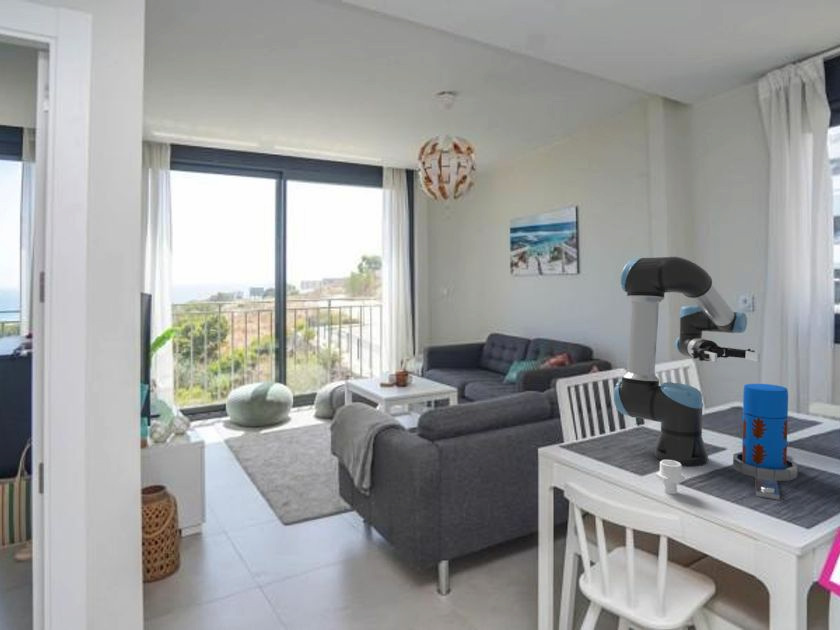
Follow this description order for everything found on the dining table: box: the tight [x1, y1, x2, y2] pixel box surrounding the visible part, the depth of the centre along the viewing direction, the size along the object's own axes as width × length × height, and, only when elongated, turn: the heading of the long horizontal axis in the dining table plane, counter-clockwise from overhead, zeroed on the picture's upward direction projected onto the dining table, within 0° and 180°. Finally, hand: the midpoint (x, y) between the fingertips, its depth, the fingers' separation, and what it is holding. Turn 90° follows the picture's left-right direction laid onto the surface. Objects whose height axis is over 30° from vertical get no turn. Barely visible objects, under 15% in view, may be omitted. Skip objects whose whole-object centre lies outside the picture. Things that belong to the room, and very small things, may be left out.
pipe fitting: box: [655, 460, 686, 495], centre depth 135 cm, size 6×7×8 cm
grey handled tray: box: [732, 451, 798, 501], centre depth 148 cm, size 16×41×3 cm, turn 148°
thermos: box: [741, 383, 789, 469], centre depth 149 cm, size 11×11×25 cm
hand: (737, 357), depth 164 cm, fingers open, 13 cm apart
